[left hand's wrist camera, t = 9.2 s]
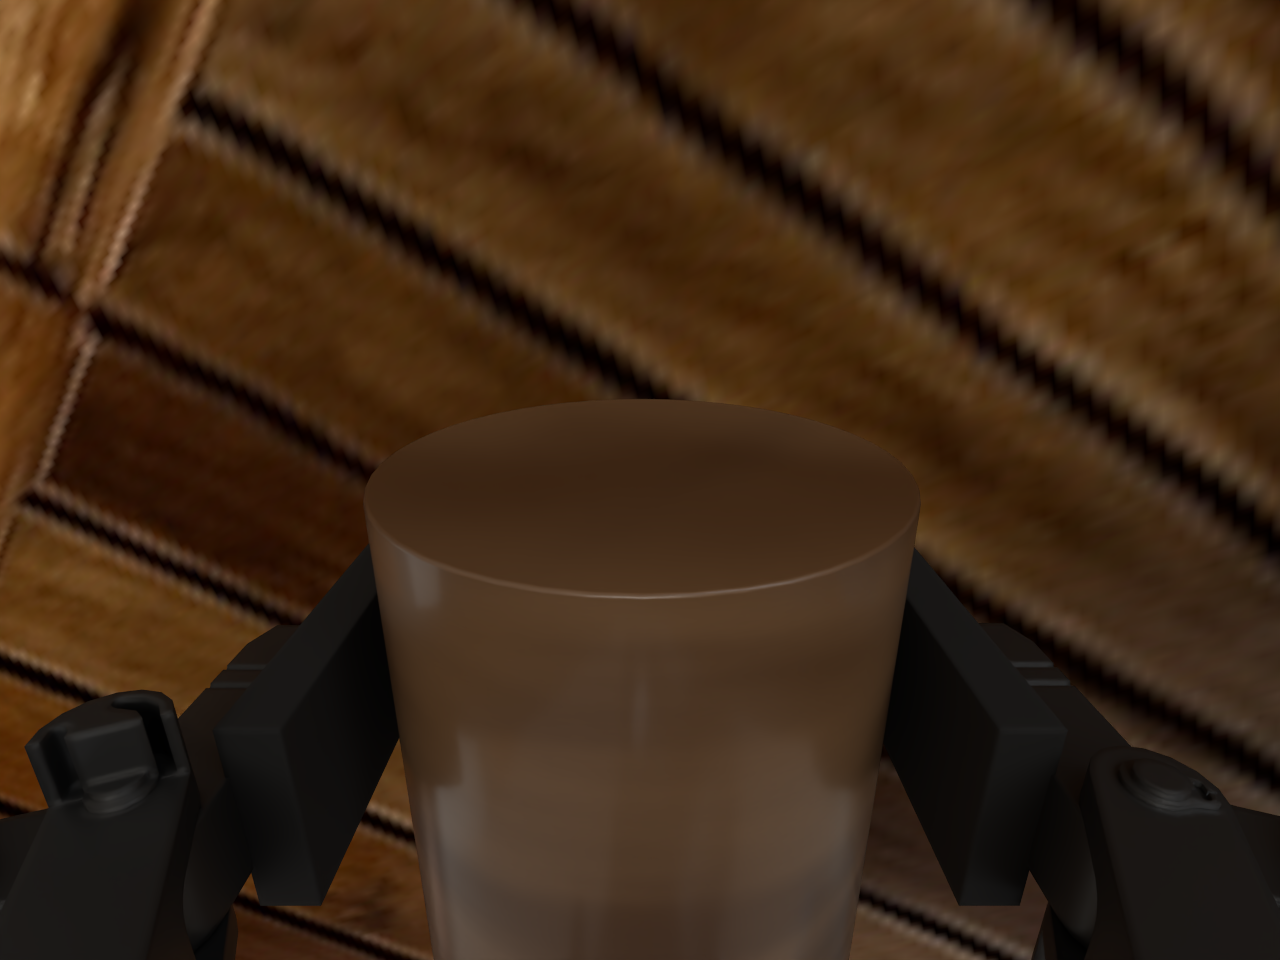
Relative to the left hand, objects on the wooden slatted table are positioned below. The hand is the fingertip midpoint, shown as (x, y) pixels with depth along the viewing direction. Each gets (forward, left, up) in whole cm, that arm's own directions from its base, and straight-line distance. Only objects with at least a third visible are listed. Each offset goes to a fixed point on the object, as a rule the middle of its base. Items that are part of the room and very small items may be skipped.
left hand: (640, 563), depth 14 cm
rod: (-4, +7, -1) cm, 8 cm away
